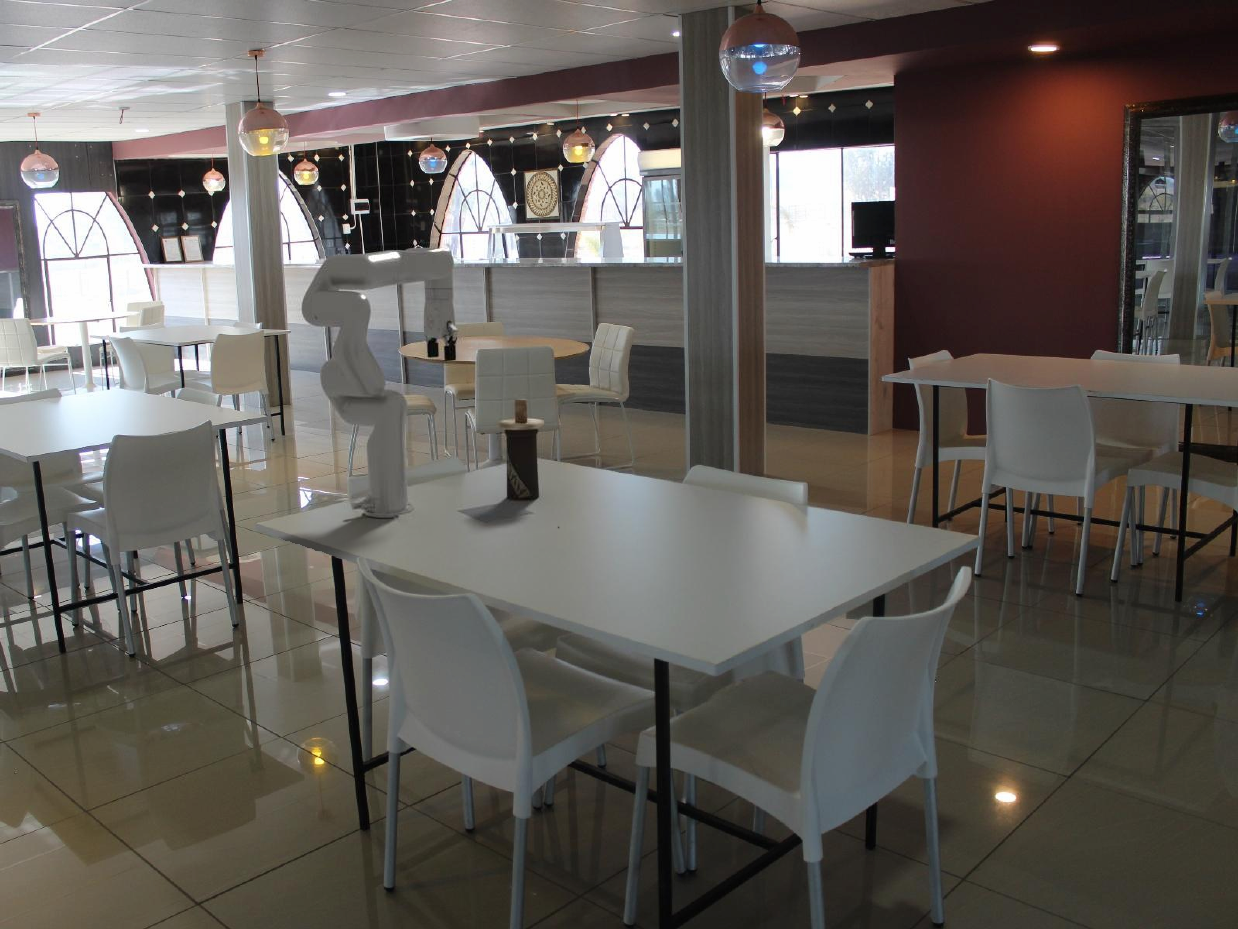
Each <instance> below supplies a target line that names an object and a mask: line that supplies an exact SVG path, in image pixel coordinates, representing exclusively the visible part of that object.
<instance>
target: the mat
mask: <svg viewBox="0 0 1238 929" xmlns="http://www.w3.org/2000/svg"><path fill="white" fill-rule="evenodd" d="M457 512H459V513H461V514H464V515H466V516H469V517H472V518H474V519H475V520H479V521H481V522H484V523H488V522H493V521H499V520H504V519H509V518H515V517H520V516H524V515H525V516H526V515H530V514H534V512H533V511H530V510H526V509H525V508H521V507H518V506H516V505H512V504H510V503H507V502H505V501H504V502H500V503H493V504H492V503H491V504H487V505H481V506H476V507H470V508H465V509H464V508H463V509H459V510H457Z"/></svg>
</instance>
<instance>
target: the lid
mask: <svg viewBox="0 0 1238 929" xmlns="http://www.w3.org/2000/svg"><path fill="white" fill-rule="evenodd" d="M497 424H498V428H499V429H502V430H505V429H508V430H530V429H538V430H539V429H541V428H544V426H545V421H544V420H543V419H539V418H538V419H537V418H528V399H527V398H515V399H514V418H511V419H510V418H509V419H503V420H500V421H498V423H497Z"/></svg>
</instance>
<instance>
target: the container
mask: <svg viewBox="0 0 1238 929" xmlns="http://www.w3.org/2000/svg"><path fill="white" fill-rule="evenodd" d="M538 433H539V428H538V429H530V430H508V429H504V434H505V437H506V440H505V442H506V499H507V500H509V501H519V502H521V501H523V502H524V501H534V500H537V499H539V498H540V488H539V487H540V485H539V470H538V469H539V467H538V448H537V447H538V445H537V444H538V442H537V440H538V438H537V437H538V436H537V435H538Z"/></svg>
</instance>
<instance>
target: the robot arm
mask: <svg viewBox="0 0 1238 929" xmlns="http://www.w3.org/2000/svg"><path fill="white" fill-rule="evenodd" d="M454 264H455V261H454V257H453V254H452V251H451V250H450V249H449V248H445V247H413V248H412V247H411V248H406V249H405V250H400V249H398V250H397V249H396V250H395V249H393V250H392V249H391V250H390V249H389V250H383V251H375V252H369V253H357V254H355V253H354V254H351V253H350V254H345V253H343V254H337V253H336V254H333V255H330V256H329V257H327V258H326V259H325V260H324V261H323V262H322V264H321V266H320V267H319V269H318V270H317V271H316V273H315V275H314V277H313V279H312V281H311V282H310V284H309V286H308V288H307V290H306V291H305V293H304V296H303V298H302V302H301V313H302V314H301V315H302V317H303V319H304V321H306V322H307V323H308V324H309V325H312V326H313V327H320V328H322V327H323V328H324V327H325V328H326V327H327V328H328V327H329V328H330V327H331V328H339V330H338V333H337V336H336V338H335V340H334V342H333V345H332V350H331V351H332V352H331V353H332V358H329V359H327V360H326V361H325V362H324V363H323V365H322V367H321V369H320V377H319V378H320V384H321V388H322V390H323V392H324V393H325V395H326V396H327V399H328V400H329V401H330V403H331V405H332V406H333V408H334V410H336V412H337V413H338V416H339V417H340V418H341V420H343V422H345V423H347V424H349V425H350V426H351V425H352V426H360V427H362V426H363V427H372V428H373V430H372V432H371V434H370V436H369V437H368V439H367V443H366V457H367V459H366V460H367V461H366V462H367V477H368V494H367V495H365V498H363V499H362V500H361V501H360V500H359V501H358V500H357V501H352V502H351V503H350V507H351V509H352V510H353V511H354V510H359V509H360V510H361V511H363V514H364V515H365V516H367V517H370V518H378V519H379V518H380V519H389V518H392V519H393V518H398V517H400V515H404V514H409V513H411V512H413V511H414V510H415V506H414V504H412V503H409V501H408V500H409V499H408V496H409V494H408V480H407V479H408V474H407V458H406V457H407V456H406V453H407V452H406V421H407V417H408V401H407V400H406V397H405V396H404V395H403V394H402V393H400V392H399V391H397V390H392V389H387V388H385V387H386V377H385V374H384V372H383V370H382V368H381V366H380V364H379V362H378V361H377V359H376V358H375V356H374V354H373V352H372V350H371V348H370V347H369V345H368V340H367V335H368V329H369V324H370V319H371V313H372V312H371V311H372V310H371V303H370V301H369V299H368V297H367V296H365V295H364V294H363V293H361V292H357V291H365V290H367V291H368V290H373V289H378V288H383V287H389V286H395V285H406V284H411V283H417V282H419V283H420V282H424V306H423V307H424V309H423V334H424V336H425V343H426V350H427V352H426V354H427V358H428V359H431V358H438V357H439V356H440V353H439V352H440V350H439V349H440V348H439V342H438V339H442V340H443V342H444V344H445V345H444V346H443V352H444V353H443V355H444V356H443V358H444V361H445V362H448V361H456V360H457V350H456V348H457V347H456V345H457V340H458V333H459V330H458V328H457V327H456V318H455V317H456V316H455V308H454V302H453V301H454V281H453V280H454V279H453V269H454V266H455V265H454ZM351 290H352V291H351ZM355 290H356V291H355Z"/></svg>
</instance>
